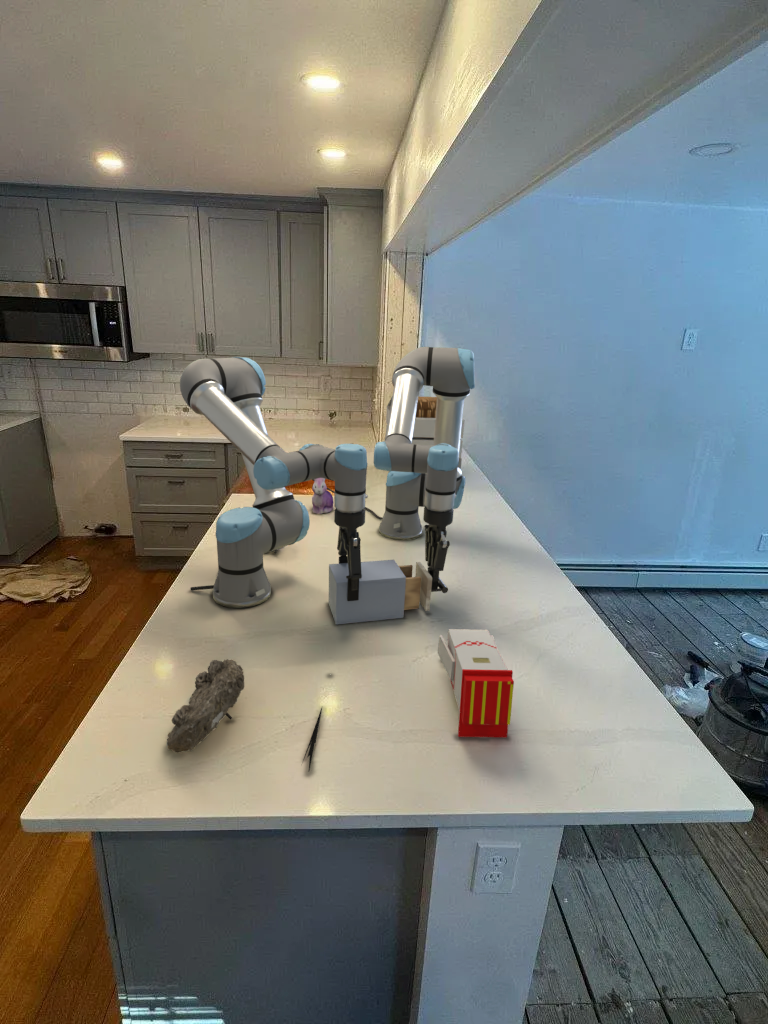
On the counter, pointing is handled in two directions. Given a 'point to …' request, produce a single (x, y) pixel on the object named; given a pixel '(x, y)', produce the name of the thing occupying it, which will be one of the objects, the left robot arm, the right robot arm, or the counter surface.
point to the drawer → (419, 587)
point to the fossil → (206, 705)
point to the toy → (478, 682)
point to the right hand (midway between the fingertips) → (431, 590)
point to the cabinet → (368, 592)
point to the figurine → (321, 497)
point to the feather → (313, 740)
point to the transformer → (426, 423)
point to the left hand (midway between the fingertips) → (348, 589)
